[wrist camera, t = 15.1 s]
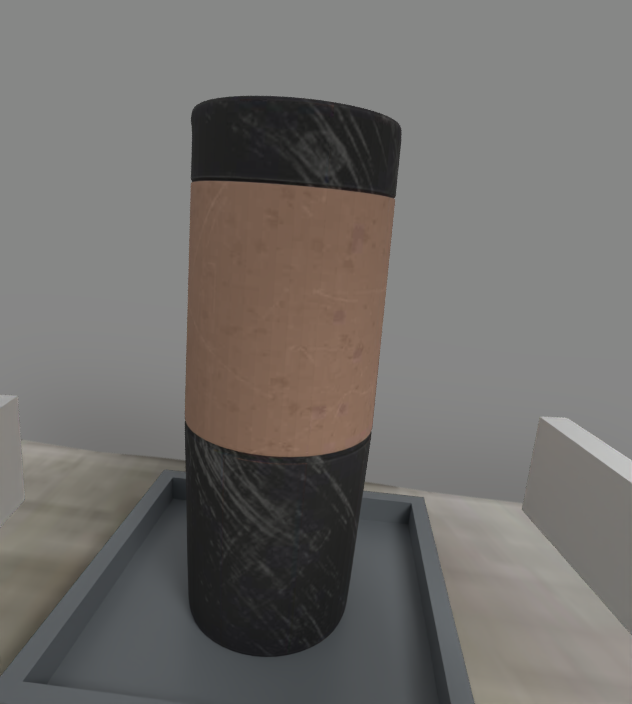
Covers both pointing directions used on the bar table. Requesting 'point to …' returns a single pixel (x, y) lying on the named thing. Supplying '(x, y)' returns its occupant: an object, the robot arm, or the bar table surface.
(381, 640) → the tray
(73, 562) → the bar table surface
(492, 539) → the bar table surface
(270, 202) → the travel mug
